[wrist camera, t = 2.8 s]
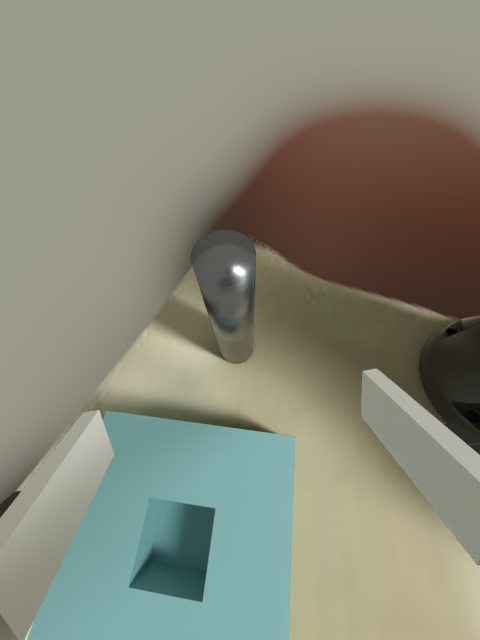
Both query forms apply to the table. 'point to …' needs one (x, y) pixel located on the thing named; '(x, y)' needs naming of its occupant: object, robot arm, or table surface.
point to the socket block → (180, 538)
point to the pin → (228, 290)
